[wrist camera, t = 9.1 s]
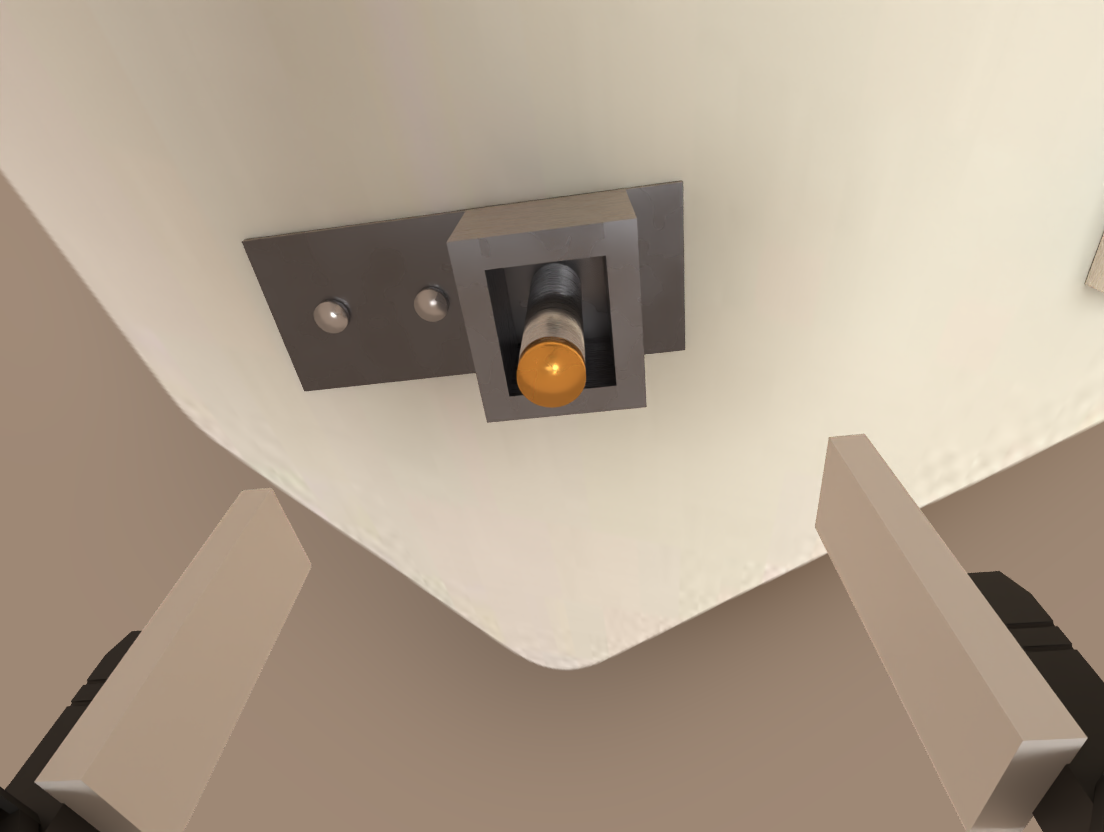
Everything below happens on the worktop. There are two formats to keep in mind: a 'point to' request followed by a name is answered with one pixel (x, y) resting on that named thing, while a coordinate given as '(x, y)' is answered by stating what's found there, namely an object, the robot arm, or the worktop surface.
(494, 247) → the grey hollow block
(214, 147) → the worktop surface
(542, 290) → the keeper
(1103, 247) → the link
